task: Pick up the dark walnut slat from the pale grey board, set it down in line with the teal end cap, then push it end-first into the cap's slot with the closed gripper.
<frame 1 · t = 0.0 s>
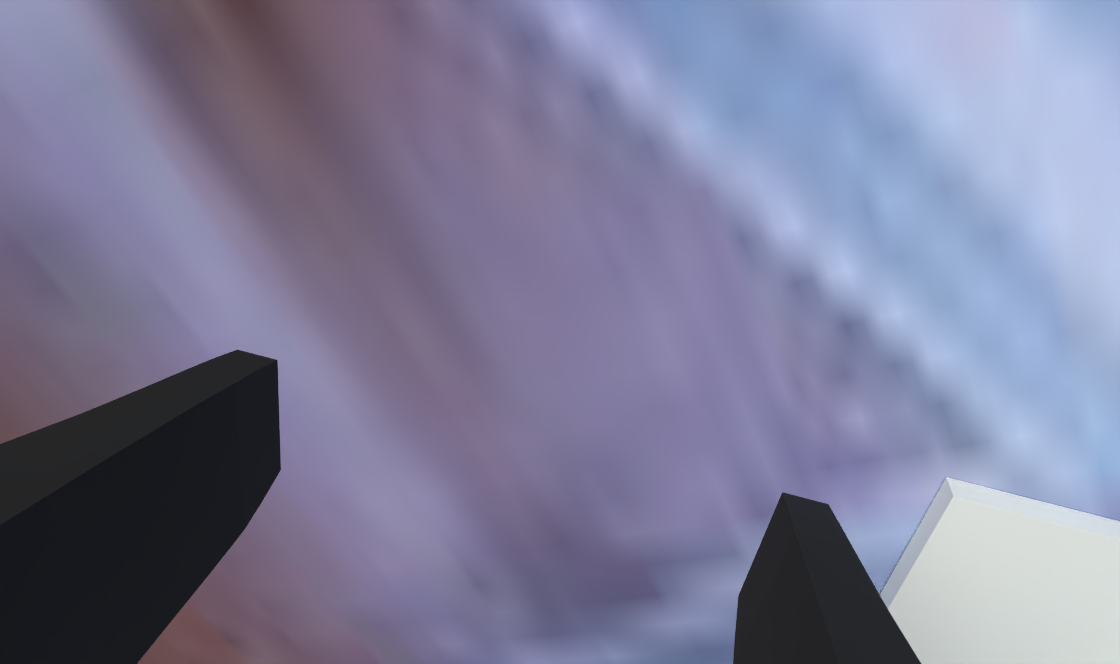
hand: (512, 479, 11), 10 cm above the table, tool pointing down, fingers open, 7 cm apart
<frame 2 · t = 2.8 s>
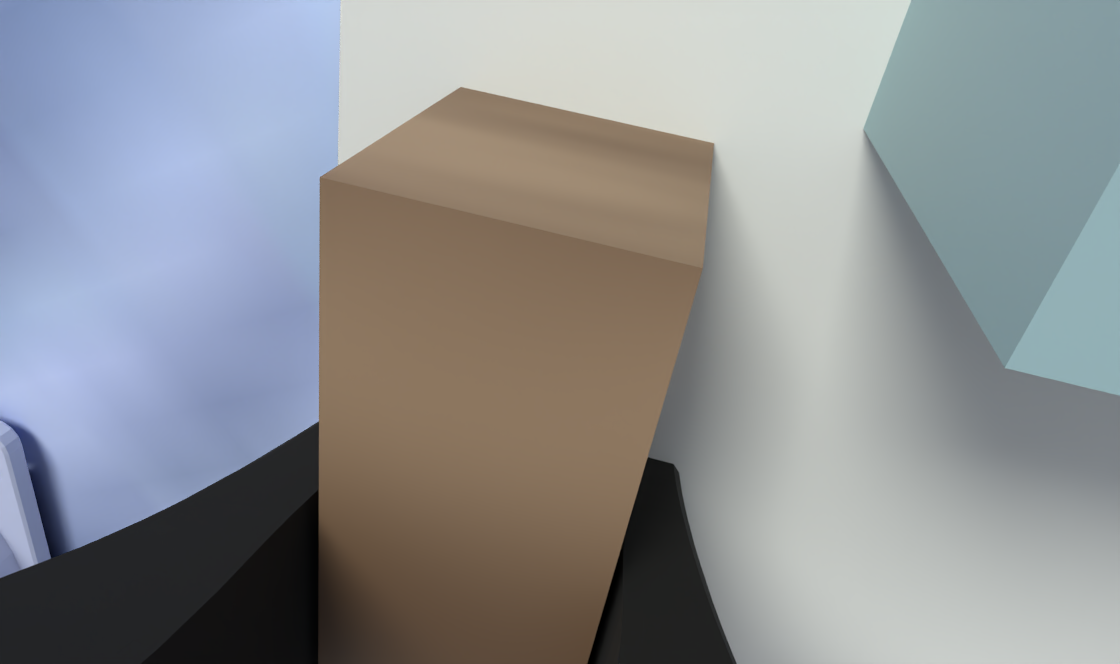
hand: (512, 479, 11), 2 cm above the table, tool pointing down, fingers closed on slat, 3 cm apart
slat: (524, 448, 11), point 1 cm above the table, touching board, gripper
board: (898, 324, 10), on the table
when the fingers open (2 cm above the table, at t = 5.4 s): slat stays where it is, resting on board.
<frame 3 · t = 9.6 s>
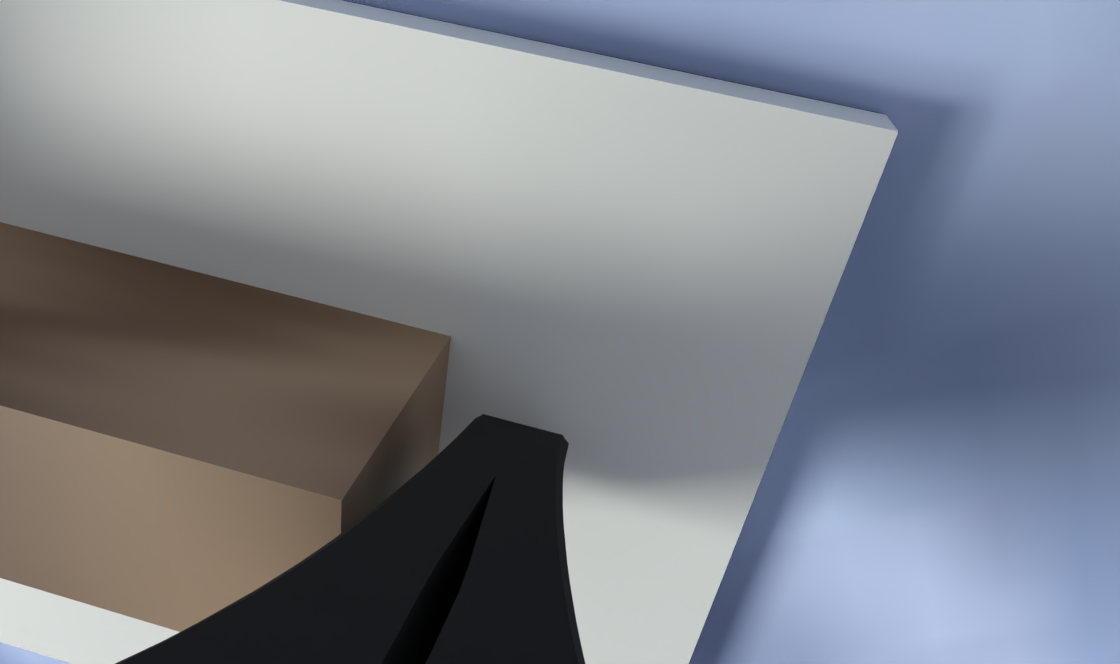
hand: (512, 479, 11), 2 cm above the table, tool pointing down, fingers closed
slat: (141, 339, 12), point 1 cm above the table, touching board, gripper
board: (23, 368, 14), on the table
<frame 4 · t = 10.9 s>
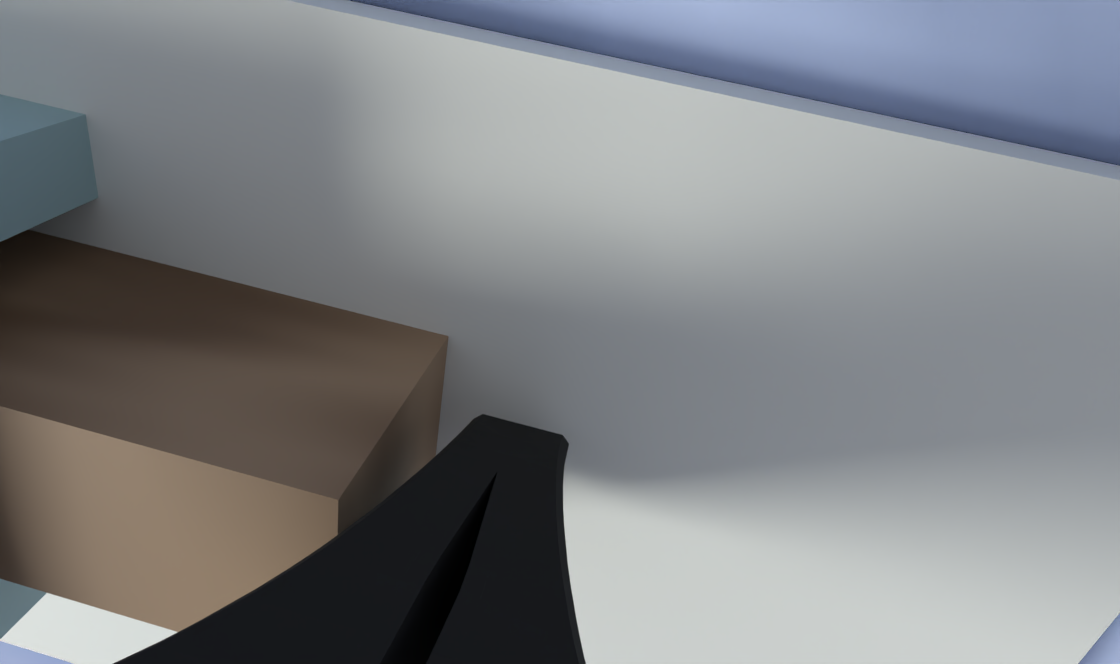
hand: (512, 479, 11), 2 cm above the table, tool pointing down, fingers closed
slat: (138, 339, 12), point 1 cm above the table, touching board, gripper
board: (294, 440, 13), on the table
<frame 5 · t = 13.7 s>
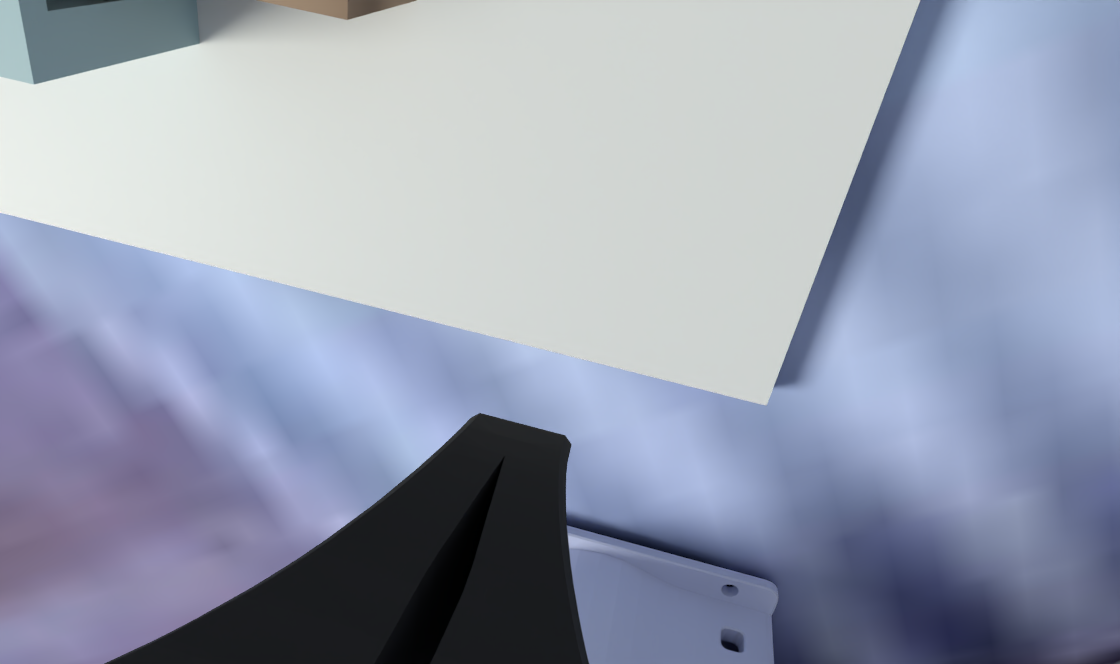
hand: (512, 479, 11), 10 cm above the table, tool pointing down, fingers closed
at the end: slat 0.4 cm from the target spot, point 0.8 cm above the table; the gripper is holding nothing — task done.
